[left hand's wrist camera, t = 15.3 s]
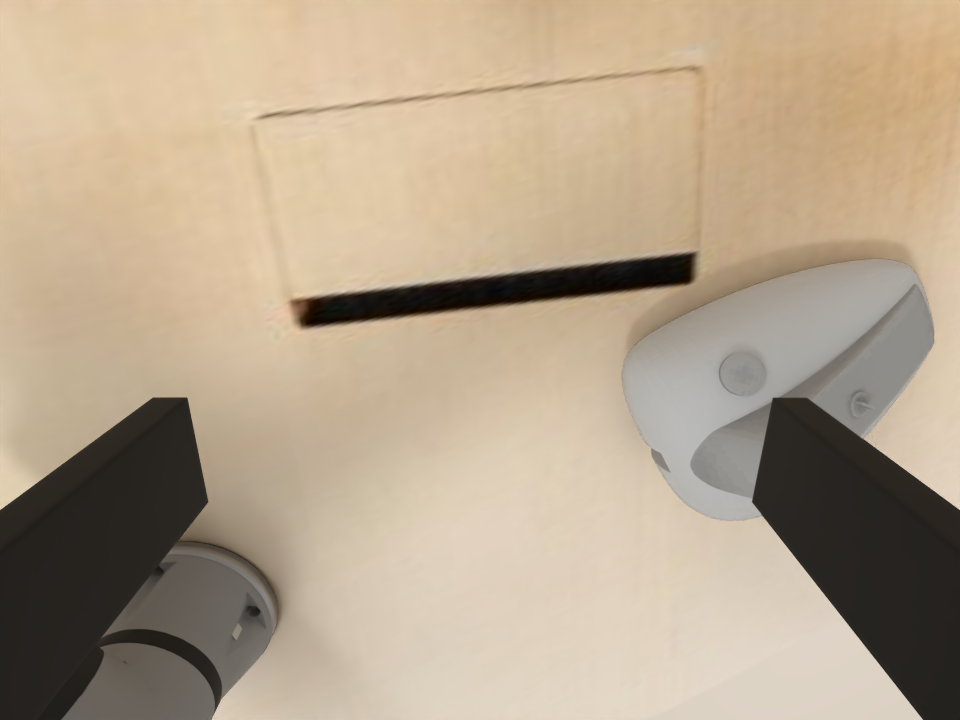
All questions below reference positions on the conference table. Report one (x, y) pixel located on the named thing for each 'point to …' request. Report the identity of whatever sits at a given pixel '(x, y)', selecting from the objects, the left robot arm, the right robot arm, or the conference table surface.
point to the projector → (772, 371)
